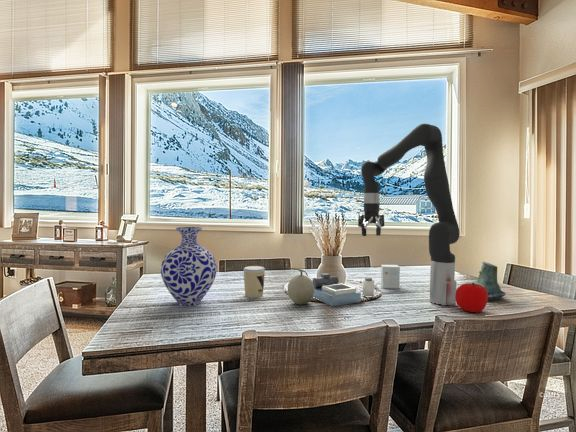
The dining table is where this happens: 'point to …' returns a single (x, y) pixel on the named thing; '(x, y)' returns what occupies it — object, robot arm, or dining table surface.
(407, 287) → the dining table surface
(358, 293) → the motor housing
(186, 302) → the vase
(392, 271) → the small box
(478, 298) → the tomato
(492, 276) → the tree stump
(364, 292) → the pump module
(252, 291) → the coffee cup
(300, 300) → the fruit
